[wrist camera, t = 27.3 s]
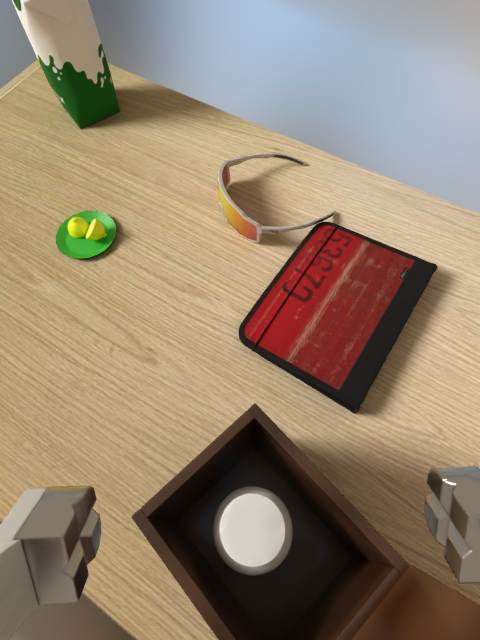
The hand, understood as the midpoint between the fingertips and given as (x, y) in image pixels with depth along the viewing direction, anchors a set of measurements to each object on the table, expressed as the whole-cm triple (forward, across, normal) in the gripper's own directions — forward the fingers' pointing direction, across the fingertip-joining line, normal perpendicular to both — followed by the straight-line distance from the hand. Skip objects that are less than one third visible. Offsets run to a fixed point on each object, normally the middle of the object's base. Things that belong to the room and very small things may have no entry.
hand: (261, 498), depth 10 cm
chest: (+22, -1, +24) cm, 33 cm away
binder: (+40, -11, +8) cm, 42 cm away
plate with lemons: (+49, +21, -2) cm, 53 cm away
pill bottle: (+23, 0, +24) cm, 33 cm away
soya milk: (+68, +23, -20) cm, 74 cm away
